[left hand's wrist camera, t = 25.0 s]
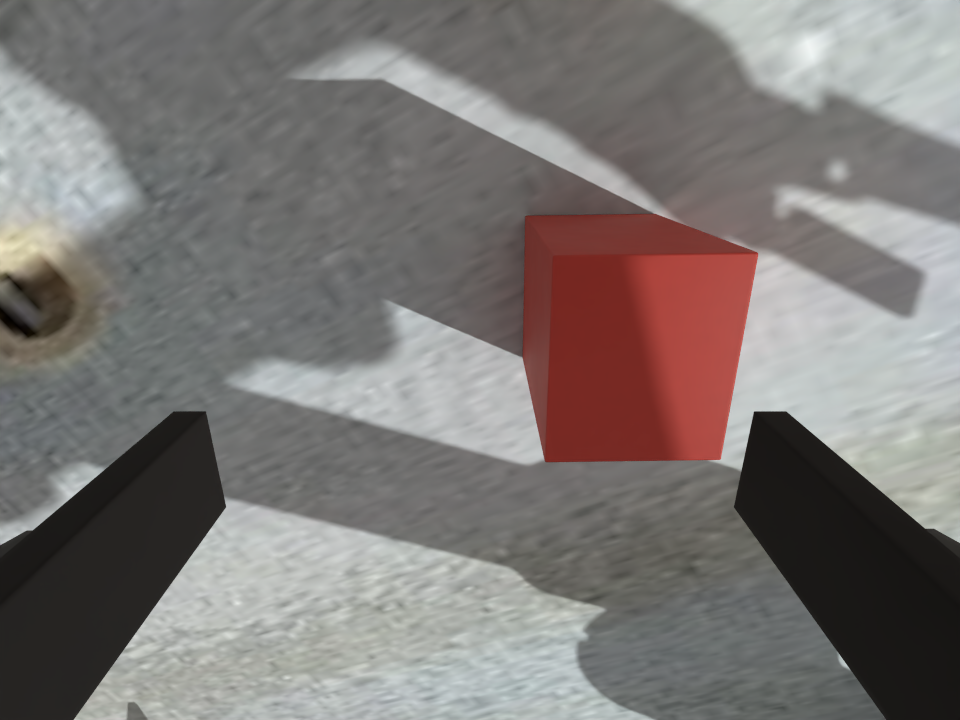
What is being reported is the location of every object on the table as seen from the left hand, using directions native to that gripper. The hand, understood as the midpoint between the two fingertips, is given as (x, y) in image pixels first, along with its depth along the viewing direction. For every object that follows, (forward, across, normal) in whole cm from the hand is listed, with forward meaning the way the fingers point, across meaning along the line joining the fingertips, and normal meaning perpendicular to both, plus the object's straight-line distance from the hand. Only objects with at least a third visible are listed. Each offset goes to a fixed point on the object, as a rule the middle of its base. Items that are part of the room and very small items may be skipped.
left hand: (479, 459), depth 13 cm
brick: (+19, +6, 0) cm, 20 cm away
